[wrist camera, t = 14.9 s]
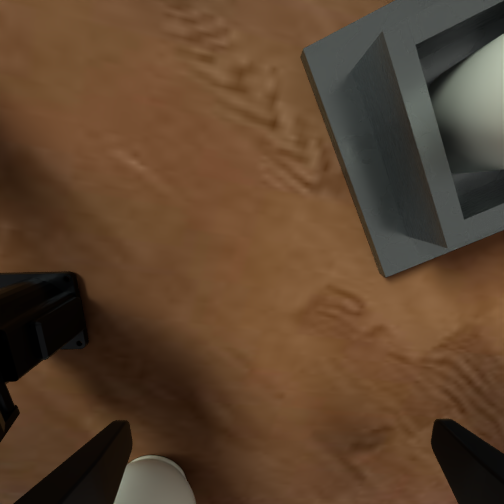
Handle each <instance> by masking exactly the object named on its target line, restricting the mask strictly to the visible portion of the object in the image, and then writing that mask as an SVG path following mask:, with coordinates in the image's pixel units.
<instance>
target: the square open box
mask: <svg viewBox="0 0 504 504" xmlns="http://www.w3.org/2000/svg"><path fill="white" fill-rule="evenodd" d="M502 34H504V0H395V1H393V2H391V3H389V4H387V5H386V6H384V7H382V8H380V9H378V10H376V11H374V12H372V13H370V14H368V15H367V16H365V17H363V18H361V19H359V20H357V21H355V22H353V23H351V24H349V25H348V26H346V27H344V28H342V29H340V30H338V31H336V32H334V33H332V34H330V35H329V36H327V37H325V38H323V39H321V40H319V41H317V42H315V43H313V44H311V45H310V46H308V47H306V48H304V49H303V51H302V54H301V60H302V63H303V65H304V68H305V71H306V73H307V76H308V79H309V82H310V84H311V87H312V90H313V93H314V95H315V98H316V101H317V103H318V106H319V109H320V112H321V114H322V117H323V120H324V123H325V125H326V128H327V131H328V133H329V136H330V139H331V142H332V144H333V147H334V150H335V153H336V155H337V158H338V161H339V164H340V166H341V169H342V172H343V174H344V177H345V180H346V183H347V185H348V188H349V191H350V194H351V196H352V199H353V202H354V204H355V207H356V210H357V213H358V215H359V218H360V221H361V224H362V226H363V229H364V232H365V234H366V237H367V240H368V243H369V245H370V248H371V251H372V254H373V256H374V259H375V262H376V264H377V267H378V270H379V273H380V274H382V275H383V276H385V277H388V276H391V275H393V274H396V273H398V272H401V271H403V270H406V269H408V268H411V267H413V266H416V265H418V264H421V263H423V262H426V261H428V260H431V259H433V258H435V257H438V256H440V255H443V254H445V253H448V252H450V251H453V250H455V249H458V248H460V247H463V246H465V245H468V244H470V243H473V242H475V241H478V240H480V239H483V238H485V237H487V236H490V235H492V234H495V233H497V232H500V231H502V230H504V170H492V171H481V172H469V173H451V171H450V167H449V164H448V160H447V157H446V153H445V149H444V146H443V142H442V139H441V135H440V132H439V128H438V124H437V121H436V117H435V114H434V110H433V106H432V103H431V99H430V96H429V92H428V88H429V86H430V85H431V84H432V83H433V82H434V80H435V79H436V78H437V77H439V76H440V75H441V74H442V73H443V72H445V71H446V70H447V69H449V68H451V67H452V66H454V65H455V64H457V63H458V62H460V61H461V60H463V59H465V58H466V57H468V56H469V55H471V54H472V53H474V52H476V51H477V50H479V49H480V48H482V47H483V46H485V45H487V44H488V43H490V42H491V41H493V40H494V39H496V38H498V37H499V36H501V35H502Z"/></svg>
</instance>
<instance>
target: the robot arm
mask: <svg viewBox="0 0 504 504" xmlns="http://www.w3.org/2000/svg"><path fill="white" fill-rule="evenodd" d="M67 276H68V277H69V279H70V281H69V280H68V279H67ZM80 341H81V342H82V343H81V342H80ZM87 344H88V336H87V331H86V324H85V319H84V313H83V308H82V303H81V299H80V294H79V289H78V284H77V278H76V275H75V274H74V273H72V272H23V273H0V442H1V441H2V439H3V438H4V436H5V435H6V433H7V432H8V430H9V429H10V427H11V426H12V424H13V423H14V421H15V420H16V418H17V417H18V415H19V414H20V412H19V409H18V407H17V405H14V403H13V401H12V398H11V396H10V393H9V391H8V388H7V386H6V384H7V383H8V382H14V381H17V380H19V379H20V378H21V377H22V376H24V375H25V374H26V373H27V372H29V371H30V370H31V369H32V368H34V367H35V366H36V365H38V364H39V363H40V362H41V361H43V360H46V359H48V358H49V357H50V356H52V355H53V354H54V353H55V352H57V351H58V350H59V349H82V348H84V347H85V346H86V345H87ZM431 445H432V449H433V452H434V454H435V456H436V458H437V460H438V462H439V464H440V466H441V468H442V470H443V473H444V475H445V477H446V479H447V481H448V483H449V485H450V487H451V489H452V491H453V493H454V495H455V497H456V500H457V502H458V504H504V454H503V453H502V452H500V451H499V450H497V449H496V448H494V447H493V446H491V445H490V444H488V443H487V442H485V441H484V440H482V439H481V438H479V437H478V436H476V435H475V434H473V433H472V432H470V431H469V430H467V429H466V428H464V427H463V426H461V425H460V424H458V423H457V422H455V421H453V420H451V419H436V420H435V421H434V425H433V431H432V438H431ZM131 450H132V436H131V430H130V424H129V422H128V421H126V420H116V421H113V422H112V423H110V424H109V425H108V426H107V427H106V428H104V429H103V430H102V431H101V432H99V433H98V434H97V435H96V436H95V437H93V438H92V439H91V440H90V441H89V442H87V443H86V444H85V445H84V446H83V447H81V448H80V449H79V450H78V451H76V452H75V453H74V454H73V455H72V456H70V457H69V458H68V459H67V460H66V461H64V462H63V463H62V464H61V465H60V466H58V467H57V468H56V469H55V470H53V471H52V472H51V473H50V474H49V475H47V476H46V477H45V478H44V479H43V480H41V481H40V482H39V483H38V484H37V485H35V486H34V487H33V488H32V489H30V490H29V491H28V492H27V493H26V494H24V495H23V496H22V497H21V498H20V499H18V500H17V501H16V502H15V503H14V504H114V501H115V498H116V496H117V493H118V490H119V487H120V484H121V481H122V478H123V475H124V472H125V469H126V466H127V463H128V460H129V457H130V454H131Z"/></svg>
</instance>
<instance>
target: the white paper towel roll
mask: <svg viewBox="0 0 504 504" xmlns="http://www.w3.org/2000/svg"><path fill="white" fill-rule="evenodd" d="M428 92H429V96H430V99H431V103H432V106H433V110H434V114H435V117H436V121H437V124H438V128H439V132H440V135H441V139H442V142H443V146H444V149H445V153H446V157H447V160H448V164H449V167H450V171H451V173H469V172H481V171H492V170H504V34H502V35H501V36H499V37H498V38H496V39H494V40H493V41H491V42H490V43H488V44H487V45H485V46H483V47H482V48H480V49H479V50H477V51H476V52H474V53H472V54H471V55H469V56H468V57H466V58H465V59H463V60H461V61H460V62H458V63H457V64H455V65H454V66H452V67H451V68H449V69H447V70H446V71H445V72H443V73H442V74H441V75H440V76H439V77H437V78H436V79H435V80H434V82H433V83H432V84H431V85H430V86H429V88H428Z"/></svg>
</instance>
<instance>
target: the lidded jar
mask: <svg viewBox="0 0 504 504" xmlns="http://www.w3.org/2000/svg"><path fill="white" fill-rule="evenodd" d="M114 504H196V500H195V497H194V494H193V491H192V489H191V487H190V485H189V483H188V481H187V480H186V476H185V474H184V472H183V470H182V469H181V468H180V466H179V465H178V464H176V463H175V462H174V461H172V460H170V459H168V458H165V457H162V456H157V455H146V456H141V457H138V458H136V459H134V460H133V461H131V462H130V463H128V464H127V466H126V469H125V472H124V475H123V478H122V481H121V484H120V487H119V490H118V493H117V496H116V498H115V501H114Z"/></svg>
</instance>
